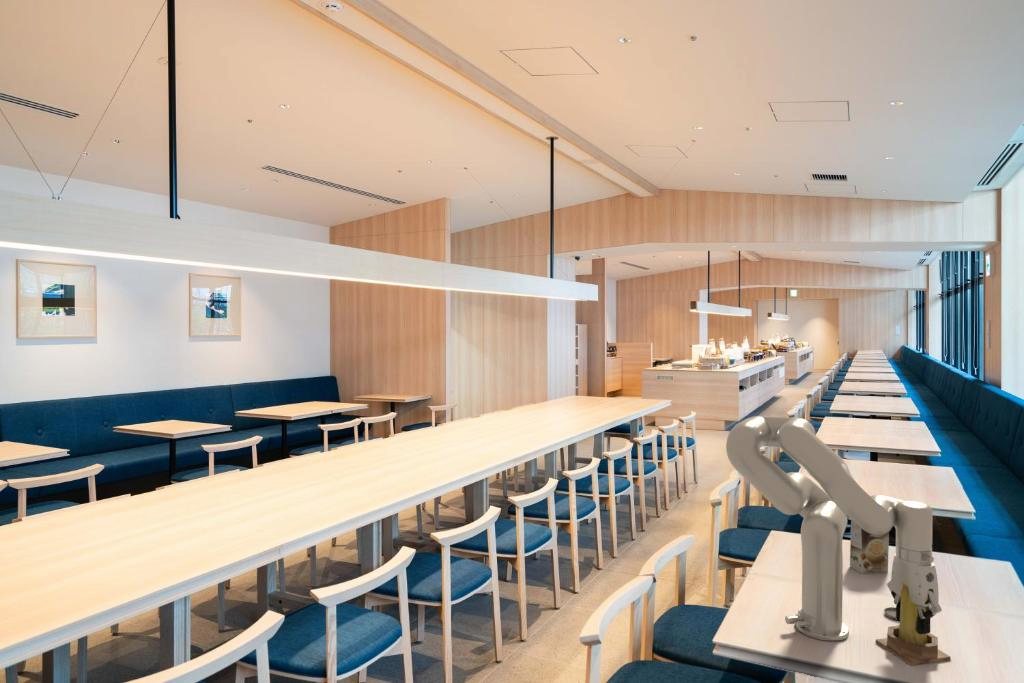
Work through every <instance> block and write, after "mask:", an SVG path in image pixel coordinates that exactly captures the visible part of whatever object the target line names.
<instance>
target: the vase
mask: <svg viewBox="0 0 1024 683" xmlns="http://www.w3.org/2000/svg"><path fill="white" fill-rule="evenodd" d="M902 585H903V589H902V590H901V605H900V622H899V624H898V625H899V636H898V638H900V639H901V640H903V641H906V642H910V643H915V644H919V645H922V644H927V643H928V642H927V634H918V633H917V617H920V616H919V612H918V608H917V605H916V604H914V603H913V602H911V600H910V597H909V588H908V586H907V585H906V584H904V583H902ZM923 610H924V612H925V611H926V608H925V607H923Z"/></svg>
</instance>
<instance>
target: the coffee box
mask: <svg viewBox="0 0 1024 683" xmlns="http://www.w3.org/2000/svg"><path fill="white" fill-rule="evenodd" d="M889 541H890V531H889V532H887V533H886V534H883V535H874V534H870V533H868V532H866V531H865V530H863V529H862V528H860V527H859V526H858V525H857V524H856V523H855V522H854V521H852V520H851V519H850V541H849V542H850V545H849V546H850V548H849V552H850V553H849V554H850V555H849V567H850V568H852V569H854V570H855V571H857V572H859V573H860V574H875V573H876V574H877V573H888V572H889V552H890V551H889V547H890V546H889V545H890V544H889V543H890V542H889Z"/></svg>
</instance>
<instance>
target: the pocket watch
mask: <svg viewBox="0 0 1024 683" xmlns="http://www.w3.org/2000/svg"><path fill="white" fill-rule="evenodd" d="M883 613H884V614H885V615H886V616H887V617H888V618H891V619H894V620H896V607H893V606H891V607H886V608H884V610H883Z"/></svg>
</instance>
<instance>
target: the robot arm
mask: <svg viewBox="0 0 1024 683" xmlns="http://www.w3.org/2000/svg"><path fill="white" fill-rule="evenodd" d="M725 444H726V446H725V449H726V456H727V459H728V461H729V462H730V465H732V467H733V468H734V470H736V471H737V472H738V473H739V474H740V475H741V476H742V477H743V478H744V479H745V480H746V481H747V482H748V483H750V485H751V486H753V488H754V489H756V491H758V493H760V495H762V496H763V497H764V498H765V499H766V500H767V501H769V503H771V505H772V506H774V507H775V509H776V510H778V511H779V512H781V513H782V514H784V515H787V516H794V515H797V514H798V515H800V516H801V517H802V518H803V519H802V522H801V528H800V541H801V543H800V544H801V569H802V570H801V574H802V575H801V609H800V608H799V609H798V610H797V613H796V614H795V615H787V616H785V618H784V621H785V623H786V624H787V625H793V624H795V625H794V626H795V627H796V629H797V630H798V631H799V632H800V633H802V634H804V635H806V636H808V637H810V638H814V639H816V640H817V639H818V640H821V641H831V642H832V641H841V640H845V639H846V638H848V636H849V635H850V633H849V632H850V631H849V630H850V629H849V627H848V626H847V624H845V623H844V622H843V590H844V589H843V585H844V583H843V582H844V580H843V579H844V574H843V572H844V569H843V567H844V563H843V562H844V561H843V538H844V537H843V536H844V534H845V532H846V529H847V526H848V519H850V521H851V520H852V521H854V522H855V523H856V524H857V525H858V526H859V527H860V528H862V529H863V530H865V531H866V532H868V533H870V534H874V535H883V534H886V533H887V532H889V533H890V531H891V530H892V528H893V527H894V528H895V554H894V556H893V560H892V567H891V578H890V580H889V581H888V582H887V583H886V586H887V588H888V590H889V591H890V594H891V596H892V598H893V603H894V605H895V608H896V619H895V621H896V622H898V623H900V605H901V590H902V589H903V585H902V583H904V584H906V585H907V586H908V588H909V597H910V600H911V602H913V603H914V604H916V605H917V608H918V612H919V616H920V617H917V633H918V634H927V633H931V619H932V618H934V616H936V615H937V614H939V613H940V612H942V610H943V609H942V607H941V605H940V604H939V598H940V597H939V583H938V580H939V579H938V574H937V569H936V566H935V563H933V562H934V560H935V558H934V557H933V520H934V519H933V510H932V508H931V506H930V505H928V504H927V503H924V502H921V501H917V500H916V501H915V500H901V499H897V498H893V497H890V496H886V495H882V494H881V495H880V494H874V495H870V494H868V493H867V492H866V491H865V490H864V489H863V488H862V487H861V486H860V485H859V483H858V482H857V481H856V480H855V478H854V477H853V476H852V473H851V472H850V469H849V467H848V465H847V463H846V462H845V460H844V459H843V458H842V457H841V456H840V455H839V454H837V452H835V451H834V450H833V449H832V448H831V447H829V446H828V445H827V444H825V443H824V442H823V441H822V440H821V439H820V438H819V437H818V436H817V432H816V429H815V427H814V426H813V424H812V423H811V422H810V421H808V420H806V419H804V418H802V417H801V418H799V417H781V416H761V415H759V416H758V415H757V416H751V417H748V418H745V419H743V420H741V421H740V422H737V423H736V424H735V425H734V426H733V427H732V428H731V430H730V431H729V433H728V436H727V438H726V442H725ZM762 447H772V448H773V447H775V448H780V450H782V451H783V452H784V453H785V454H786V455H787V456H789V457H790V458H791V459H792V460H793V461H794V462H795V463H796V464H797V465H798V466H799V467H800V468H801V469H803V470H804V471H805V472H806V473H807V474H808V475H809V476H811V477H812V478H813V479H814V480H815V481H816V482H817V483H818V485H819V486H818V485H817V484H816V483H815V482H814V481H813V480H812V479H810V478H809V477H808V476H806V475H804V474H802V473H799V472H794V471H791V472H785V471H784V470H783V469H781V467H779V465H777V463H775V461H773V460H772V459H771V458H768V457H767V456H766V455H764V454H763V453H762V452H761V450H760V449H761V448H762ZM923 607H925V608H926V611H925V612H924V610H923Z"/></svg>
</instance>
